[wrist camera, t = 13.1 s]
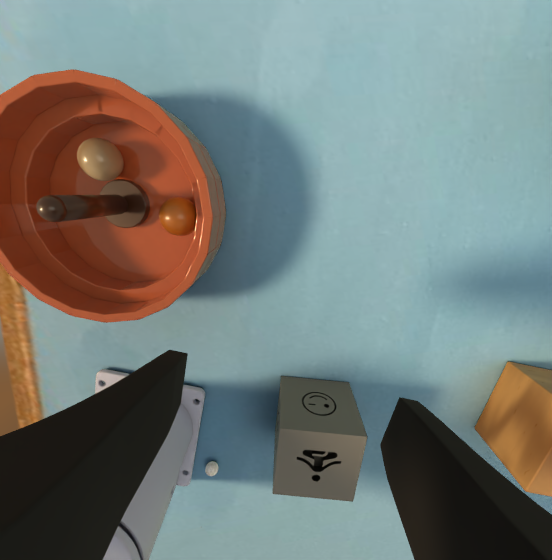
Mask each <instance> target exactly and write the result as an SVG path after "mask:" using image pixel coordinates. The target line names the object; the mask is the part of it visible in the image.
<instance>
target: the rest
mask: <svg viewBox="0 0 552 560" xmlns="http://www.w3.org/2000/svg"><path fill="white" fill-rule="evenodd" d="M475 430H476V431H477V432H478V433H479V435H480V436H481V437H482V438H483V440H484V441H485V442H486V443H487V445H488V446H489V447H490V448H491V449H492V451H493V452H494V453H495V454H496V456H497V457H498V458H499V459H500V461H501V462H502V463H503V464H504V466H505V467H506V468H507V469H508V470H509V472H510V473H511V474H512V475H513V477H514V478H515V479H516V480H517V482H518V483H519V484H520V485H521V487H522V488H523V489H524V490H525V491H526V492H530V493H536V494H541V495H546V496H551V497H552V370H548V369H543V368H538V367H533V366H528V365H524V364H519V363H514V362H509V361H508V362H507V364H506V366H505V368H504V370H503V372H502V374H501V376H500V378H499V380H498V382H497V384H496V386H495V388H494V390H493V392H492V394H491V396H490V398H489V400H488V402H487V404H486V406H485V408H484V410H483V412H482V414H481V416H480V418H479V420H478V422H477V424H476V426H475Z"/></svg>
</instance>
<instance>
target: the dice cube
mask: <svg viewBox="0 0 552 560" xmlns="http://www.w3.org/2000/svg"><path fill="white" fill-rule="evenodd" d="M366 441H367V434H366V431H365V428H364V425H363V422H362V419H361V416H360V413H359V410H358V408H357V405H356V402H355V399H354V396H353V393H352V390H351V387H350V384H349V382H339V381H328V380H318V379H307V378H297V377H286V376H281V382H280V392H279V401H278V410H277V419H276V428H275V447H274V472H273V494H280V495H290V496H301V497H311V498H322V499H332V500H342V501H353V499H354V495H355V490H356V486H357V481H358V477H359V472H360V468H361V463H362V459H363V454H364V450H365V446H366Z"/></svg>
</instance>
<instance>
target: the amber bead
mask: <svg viewBox="0 0 552 560" xmlns="http://www.w3.org/2000/svg"><path fill="white" fill-rule="evenodd" d="M196 216H197V213H196V207H195V205H194V204H193V203H192V202H191V201H190V200H188V199H186V198H183V197H173V198H170V199H168V200H167V201H165V202H164V203H163V205H162V206H161V208H160V211H159V219H160V222H161V225H162V226H163V228H164V229H165V230H166V231H167V232H169V233H171V234H173V235H176V236H185V235H188V234H190V233H192V232H193V231H194V230H195V224H196Z"/></svg>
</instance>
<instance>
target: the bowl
mask: <svg viewBox="0 0 552 560" xmlns="http://www.w3.org/2000/svg"><path fill="white" fill-rule="evenodd" d="M90 138H102V139H105V140H107V141H109V142H111V143H112V144H114V145H115V146H116V147H117V148H118V149H119V151H120V152H121V154H122V157H123V161H124V166H123V170H122V172H121V174H120V175H119V176H118V177H117V178H115V179H113V180H116V179H123V180H130V181H133V182H135V183H136V184H138V185H139V186H141V187H142V189H143V190H144V191H145V192H146V194H147V196H148V199H149V203H150V211H149V215H148V217H147V219H146V220H145V221H144V222H143V223H142V224H140V225H139V226H136V227H131V228H121V227H118V226H115V225H114V224H112V223H111V222H109V221H108V220H107V219H106V218H105V216H103V217H95V218H87V219H79V220H71V221H63V222H50V221H47V220H45V219H43V218H42V217H41V216H40V215H39V214H38V212H37V209H36V204H37V202H38V200H39V199H40V198H41V197H43V196H46V195H100V192H101V190H102V188H103V187H104V186H105V185H106V184H107V183H108V182H110V181H112V180H110V181H100V180H96V179H94V178H92V177H90V176H88V175H87V174H86V173H85V172H84V171H83V170H82V169H81V167H80V165H79V163H78V160H77V151H78V148H79V146H80V145H81V144H82V142H84V141H85V140H87V139H90ZM173 197H183V198H186V199H188V200H190V201H191V202H192V203H193V204H194V205H195V207H196V213H197V216H196V224H195V230H194V231H193V232H192V233H190V234H188V235H185V236H176V235H173V234H171V233H169V232H167V231H166V230H165V229H164V228H163V226H162V225H161V222H160V219H159V211H160V208H161V206H162V205H163V203H164V202H165V201H167V200H168V199H170V198H173ZM225 218H226V208H225V201H224V194H223V188H222V181H221V178H220V176H219V174H218V172H217V170H216V168H215V166H214V164H213V161H212V159H211V157H210V155H209V153H208V151H207V149H206V147H205V146H204V145H203V144H202V143H201V142H200V141H199V139H198V138H197V137H196V136H195V135H194V134H193V133H192V132H191V130H190V129H189V128H188V127H187V126H186V125H185V124H184V123H183V122H182V121H181V120H180V119H178V118H177V117H175V116H174V115H173V114H171V113H170V112H168V111H167V110H166V109H164V108H163V107H161V106H160V105H159V104H157V103H156V102H154V101H152V100H151V99H149V98H148V97H146V96H144V95H143V94H141V93H139V92H138V91H136V90H134V89H133V88H131V87H129V86H128V85H126V84H125V83H123V82H121V81H120V80H117V79H115V78H110V77H106V76H101V75H97V74H93V73H88V72H84V71H80V70H66V71H59V72H51V73H44V74H37V75H33V76H31V77H29V78H27V79H26V80H24V81H22V82H21V83H19V84H17V85H16V86H14V87H12V88H11V89H9V90H7V91H6V92H4V93H2V94H1V95H0V262H1V264H2V265H3V267H4V268H5V269H6V271H7V272H8V274H10V276H12V277H13V278H14V279H15V280H16V281H17V282H19V283H20V284H21V285H22V286H23V287H24V288H26V289H27V290H28V291H29V292H30V293H31V294H33V295H34V296H35V297H36V298H37V299H39V300H41V301H43V302H45V303H47V304H49V305H51V306H53V307H55V308H57V309H59V310H61V311H63V312H65V313H67V314H69V315H72V316H75V317H80V318H85V319H90V320H95V321H100V322H106V323H107V322H118V321H130V320H138V319H142V318H144V317H146V316H149V315H151V314H153V313H156V312H158V311H160V310H163V309H165V308H167V307H168V306H170V305H171V304H172V303H173V302H174V301H175V300H177V299H178V298H179V297H180V296H181V295H182V294H183V293H184V292H185V291H186V290H187V289H188V288H189V287H191V286H192V285H193V284H194V283H195V282H196V281H197V280H198V279H199V278H200V277H201V276H202V275H203V274H204V273H205V272H206V271H207V269H208V268H209V267H210V265H211V263H212V261H213V259H214V257H215V255H216V253H217V251H218V249H219V248H220V246H221V243H222V237H223V231H224V225H225Z"/></svg>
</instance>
